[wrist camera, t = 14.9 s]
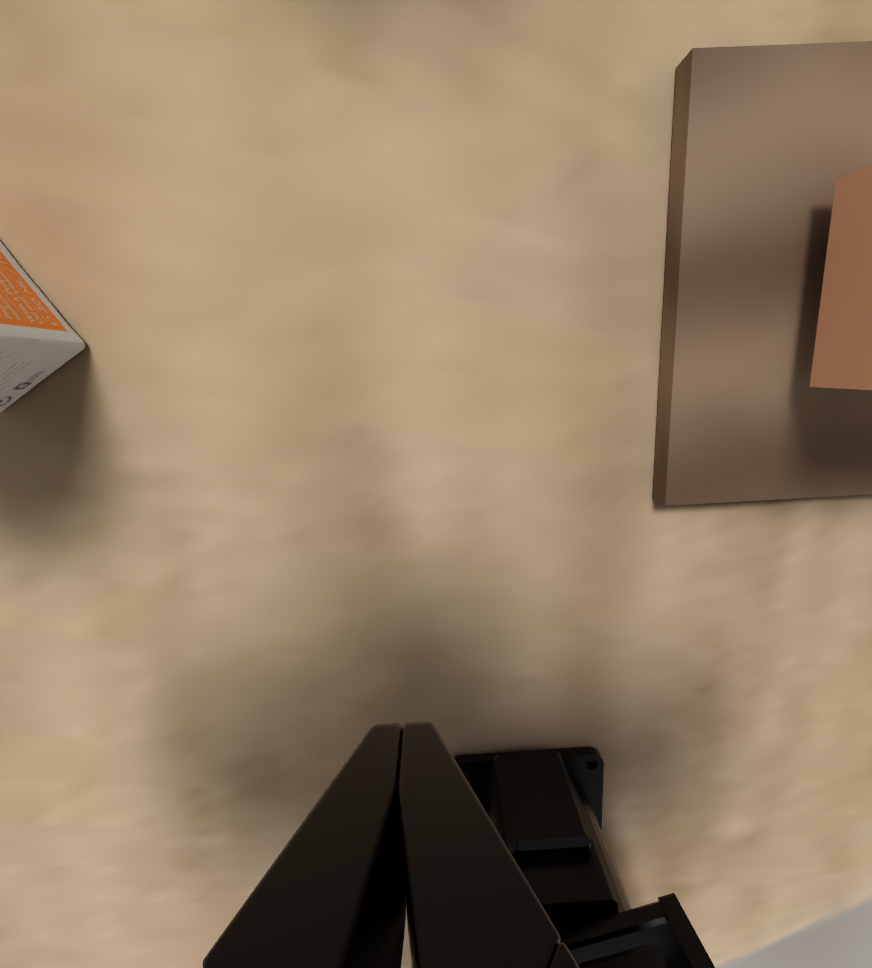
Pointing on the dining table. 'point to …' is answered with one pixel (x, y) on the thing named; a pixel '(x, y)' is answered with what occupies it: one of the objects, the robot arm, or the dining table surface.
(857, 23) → the dining table surface
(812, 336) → the board
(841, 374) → the salmon pink rectangular prism
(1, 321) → the skincare box
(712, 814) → the dining table surface
